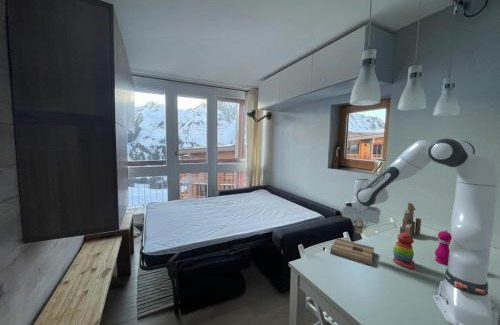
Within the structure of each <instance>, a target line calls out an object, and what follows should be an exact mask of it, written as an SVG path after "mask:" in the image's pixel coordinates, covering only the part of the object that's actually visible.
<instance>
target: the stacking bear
mask: <svg viewBox="0 0 500 325" xmlns="http://www.w3.org/2000/svg"><path fill="white" fill-rule="evenodd" d="M414 242H415V240H414V239H413V238H412V236H410V235H409V234H406V233H405V232H403V233H400V232H399V234H398V235H397V241H396V242H395V243H394V247H393V249H392V250H393V251H392V252H393V259H392V261H393V263H395V264H396V265H398V266H400V267H402V268H405V269H408V270H415V266H414V265H415V261H414V260H413V259H414V256H415V253H414V249H413V248H414V247H413V243H414Z"/></svg>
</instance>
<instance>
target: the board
mask: <svg viewBox="0 0 500 325" xmlns="http://www.w3.org/2000/svg"><path fill="white" fill-rule="evenodd" d="M374 249H375V247H373V246H369V245H365V244H361V243H358V242H354V241H350V240H347V239H343V238H338V237H337V238H336V239H335V240H334V242H333V243H332V244H331V247H330V250H329V252H330V253H329V254H330V255H334V254H335V256H337V255H338V257H340V256H342V257H341V258H345V259H347V260H350V261H354V262H357V263H360V264H363V265H367V266H370V267H371V266H372V262H373V257H374V251H375V250H374Z"/></svg>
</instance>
